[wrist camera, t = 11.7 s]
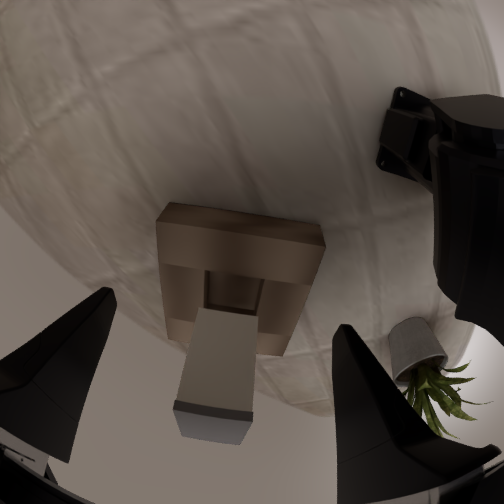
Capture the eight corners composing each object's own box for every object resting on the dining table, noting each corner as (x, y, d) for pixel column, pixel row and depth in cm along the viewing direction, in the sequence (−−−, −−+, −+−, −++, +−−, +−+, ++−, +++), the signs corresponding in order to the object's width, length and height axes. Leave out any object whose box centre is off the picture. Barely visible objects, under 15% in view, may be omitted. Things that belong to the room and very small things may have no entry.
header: (319, 225, 21) (326, 246, 19) (282, 334, 29) (282, 356, 27) (169, 202, 21) (155, 221, 18) (174, 317, 29) (168, 339, 26)
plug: (259, 316, 18) (252, 421, 12) (247, 361, 21) (239, 445, 15) (198, 307, 18) (172, 409, 12) (198, 354, 21) (182, 436, 15)
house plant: (352, 375, 35) (364, 478, 21) (336, 321, 28) (355, 471, 14) (440, 345, 31) (470, 441, 17) (452, 280, 24) (511, 408, 10)
